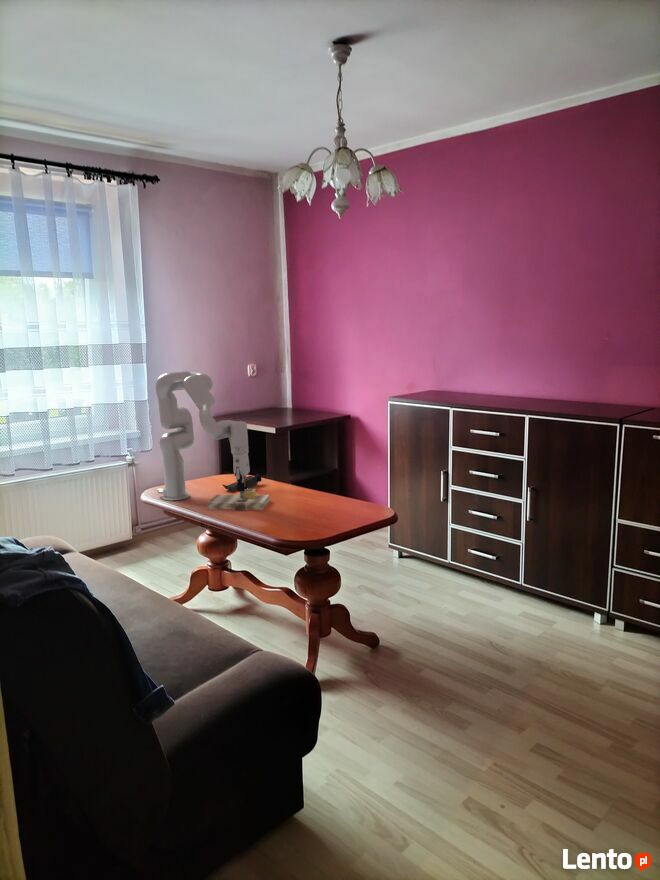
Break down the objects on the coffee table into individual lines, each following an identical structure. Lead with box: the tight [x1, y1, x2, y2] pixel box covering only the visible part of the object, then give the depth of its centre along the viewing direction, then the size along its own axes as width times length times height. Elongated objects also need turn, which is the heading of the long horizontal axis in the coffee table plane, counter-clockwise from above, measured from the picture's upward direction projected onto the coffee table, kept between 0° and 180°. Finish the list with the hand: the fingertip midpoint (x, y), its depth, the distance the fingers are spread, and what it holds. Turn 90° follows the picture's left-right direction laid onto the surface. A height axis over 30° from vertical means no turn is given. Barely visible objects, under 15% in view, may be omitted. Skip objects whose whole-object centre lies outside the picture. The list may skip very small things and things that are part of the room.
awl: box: [239, 474, 246, 499], centre depth 286 cm, size 3×3×12 cm
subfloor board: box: [206, 494, 271, 512], centre depth 291 cm, size 25×17×3 cm
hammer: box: [221, 437, 262, 492], centre depth 318 cm, size 20×5×30 cm, turn 131°
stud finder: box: [245, 488, 257, 498], centre depth 294 cm, size 6×5×3 cm
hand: (242, 489), depth 287 cm, fingers closed on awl, 3 cm apart
